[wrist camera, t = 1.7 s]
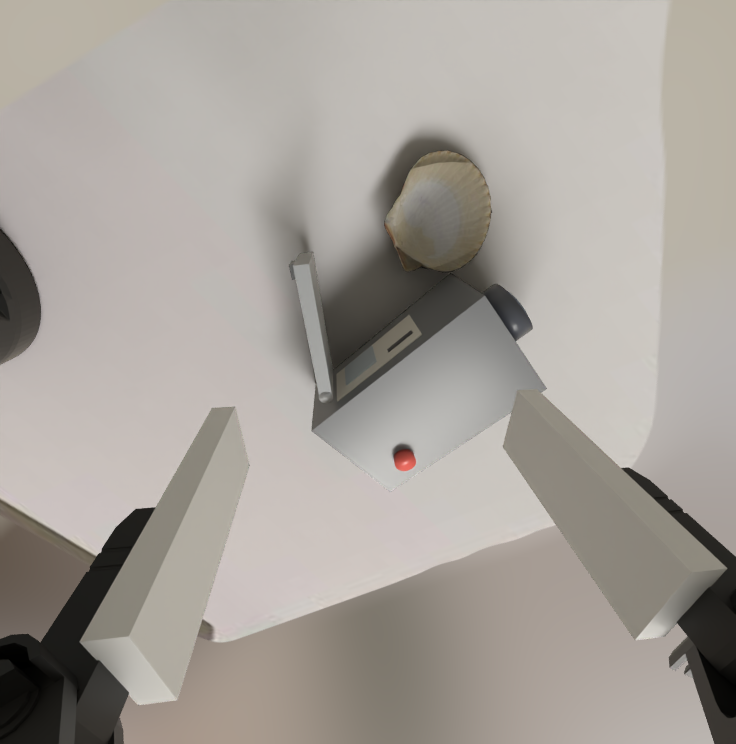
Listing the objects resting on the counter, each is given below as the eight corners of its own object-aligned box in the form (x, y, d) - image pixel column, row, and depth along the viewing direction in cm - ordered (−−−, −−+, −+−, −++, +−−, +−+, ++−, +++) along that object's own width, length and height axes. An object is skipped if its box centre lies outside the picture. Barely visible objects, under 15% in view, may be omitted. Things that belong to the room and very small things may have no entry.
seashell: (478, 237, 28) (468, 130, 23) (500, 248, 26) (496, 131, 20) (394, 280, 28) (364, 180, 22) (410, 294, 25) (381, 187, 20)
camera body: (314, 383, 31) (309, 435, 24) (469, 254, 27) (516, 274, 20) (380, 441, 35) (391, 498, 29) (523, 338, 31) (576, 377, 24)
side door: (317, 374, 29) (314, 405, 25) (293, 254, 24) (284, 266, 20) (333, 372, 30) (334, 402, 25) (313, 251, 24) (309, 263, 20)
